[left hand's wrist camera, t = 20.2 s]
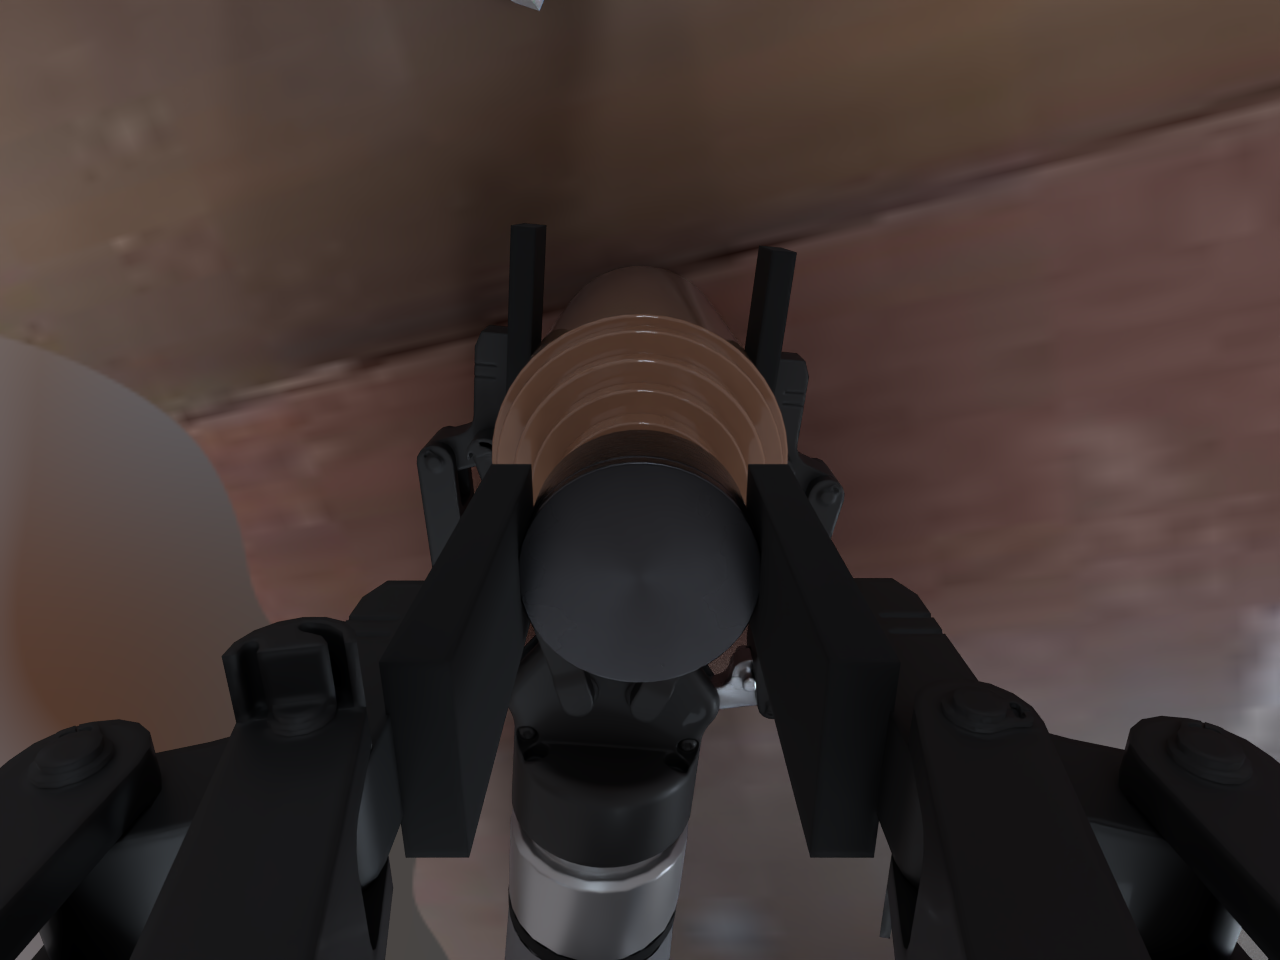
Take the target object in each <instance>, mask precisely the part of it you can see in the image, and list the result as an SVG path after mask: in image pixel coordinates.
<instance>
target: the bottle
mask: <svg viewBox="0 0 1280 960" xmlns="http://www.w3.org/2000/svg"><path fill="white" fill-rule="evenodd" d="M626 430H654V431H661V432H665V433H670V434H674V435H677V436H679V437H682V438H685V439H687V440H689V441H691V442H693V443H695V444H697V445H699V446H700V447H702V448H703V449H705V450H706V451H708V452H709V453H710V454H712V455H713V456H714V457H715V458H716V459H717V460H718V461H719V462H720V463H721V464H722V465H723V466H724V467H725V468H726V469H727V471H728V472H729V473H730V474H731V476H732V477H733V479H734V481H735V482H736V484H737V486H738V488H739V490H740V492H741V495H742V497H743V500H744V502H745V505H746V494H747V475H748V464H788V445H787V436H786V429H785V425H784V421H783V417H782V413H781V411H780V408H779V406H778V403H777V401H776V398H775V396H774V394H773V392H772V390H771V389H770V387H769V385H768V384H767V382H766V380H765V378H764V377H763V376H762V374H761V373H760V371H759V370H758V369H757V367H756V366H755V364H754V363H753V362H752V360H751V359H750V357H749V356H748V355H747V353H746V352H745V350H744V349H743V348H742V346H741V345H740V343H739V342H738V340H737V339H736V338H735V336H734V335H733V333H732V332H731V331H730V329H729V328H728V326H727V325H726V324H725V322H724V321H723V319H722V318H721V317H720V315H719V314H718V312H717V311H716V310H715V308H714V307H713V305H712V304H711V303H710V301H709V300H708V299H707V298H706V296H705V295H704V294H703V293H702V292H701V291H700V290H699V289H698V288H697V287H696V286H695V285H693V284H692V283H691V282H689V281H688V280H687V279H685V278H683V277H681V276H679V275H678V274H676V273H673V272H670V271H668V270H665V269H661V268H657V267H650V266H629V267H623V268H618V269H615V270H612V271H609V272H607V273H605V274H603V275H600V276H598V277H597V278H595V279H594V280H592V281H591V282H589V283H588V284H586V285H585V286H584V287H583V288H582V289H581V290H580V291H579V292H578V293H577V294H576V295H575V296H574V297H573V298H572V300H571V301H570V302H569V304H568V305H567V307H566V308H565V309H564V311H563V312H562V314H561V315H560V316H559V318H558V319H557V321H556V322H555V323H554V325H553V326H552V328H551V329H550V330H549V332H548V333H547V335H546V336H545V337H544V339H543V340H542V342H541V343H540V344H539V346H538V347H537V349H536V350H535V351H534V353H533V354H532V356H531V357H530V358H529V360H528V361H527V363H526V364H525V365H524V367H523V368H522V370H521V371H520V373H519V374H518V376H517V377H516V379H515V380H514V382H513V383H512V385H511V386H510V388H509V390H508V392H507V394H506V396H505V398H504V400H503V402H502V404H501V407H500V410H499V413H498V416H497V420H496V423H495V428H494V434H493V440H492V464H531V465H532V485H533V504H535V502H536V499H537V496H538V494H539V491H540V489H541V487H542V485H543V483H544V482H545V480H546V478H547V477H548V475H549V474H550V473H551V471H552V470H553V469H554V467H555V466H556V465H557V464H558V463H559V462H560V461H561V460H562V459H563V458H564V457H566V456H567V455H568V454H569V453H571V452H572V451H573V450H575V449H576V448H578V447H579V446H581V445H583V444H585V443H586V442H588V441H590V440H593V439H595V438H598V437H600V436H603V435H606V434H610V433H614V432H619V431H626Z"/></svg>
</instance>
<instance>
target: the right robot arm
mask: <svg viewBox="0 0 1280 960" xmlns="http://www.w3.org/2000/svg"><path fill="white" fill-rule="evenodd" d="M545 246H546V225H537V224H527V223H522V224H516V225H511V242H510V275H509V308H508V327H505V326H494V325H489V326H488V327H486V328H485V329H484V330H483V331H482V332H481V334H480V336H479V338H478V341H477V343H476V345H475V374H474V375H475V378H474V418H473V421H472V422H470V423H468V424H465V425H461V426H457V427H453V426H447V427H443V428H442V429H440V430H439V431H438V432H437V433H436V434H435V435H434V436H433V438H432V439H431V440H430V441H429V442H428V443H427V444H426V445H425V447H424V448H423V449H422V450H421V451H420V453H419V455H418V457H417V467H418V474H419V481H420V488H421V494H422V501H423V508H424V514H425V521H426V528H427V535H428V541H429V548H430V555H431V561H432V567H433V566H434V564H435V562H436V560H437V559H438V557H439V555H440V553H441V552H442V550H443V548H444V546H445V545H446V543H447V541H448V539H449V538H450V536H451V534H452V532H453V531H454V529H455V527H456V525H457V523H458V522H459V520H460V518H461V516H462V515H463V513H464V511H465V509H466V508H467V506H468V504H469V502H470V501H471V499H472V497H473V495H474V489H473V480H472V472H471V467H474V466H476V467H477V470H478V472H479V475H480V478H481V480H483V478H484V476H485V474H486V472H487V471H488V469H489V467H490V465H491V464H492V440H493V434H494V428H495V423H496V420H497V416H498V413H499V410H500V407H501V404H502V402H503V400H504V398H505V396H506V394H507V392H508V390H509V388H510V386H511V385H512V383H513V382H514V380H515V379H516V377H517V376H518V374H519V373H520V371H521V370H522V368H523V367H524V365H525V364H526V363H527V361H528V360H529V358H530V357H531V356H532V354H533V353H534V351H535V350H536V349H537V347H538V346H539V344H540V343H541V333H542V311H543V290H544V268H545ZM796 255H797V253H796V252H793V251H790V250H787V249H784V248H778V247H768V246H759V251H758V258H757V265H756V272H755V279H754V287H753V294H752V301H751V308H750V315H749V323H748V330H747V337H746V344H745V352H746V353H747V355H748V356H749V357H750V359H751V360H752V362H753V363H754V364H755V366H756V367H757V369H758V370H759V371H760V373H761V374H762V376H763V377H764V378H765V380H766V382H767V384H768V385H769V387H770V389H771V390H772V392H773V394H774V396H775V398H776V401H777V403H778V406H779V408H780V411H781V413H782V417H783V421H784V425H785V429H786V436H787V445H788V465H789V466H790V468H791V470H792V472H793V473H794V475H795V477H796V479H797V480H798V482H799V484H800V486H801V487H802V489H803V491H804V493H805V494H806V496H807V498H808V500H809V502H810V503H811V505H812V507H813V509H814V510H815V512H816V514H817V516H818V517H819V519H820V521H821V523H822V524H823V526H824V528H825V530H826V531H827V533H828V535H829V537H830V538H831V536H832V533H833V530H834V527H835V524H836V521H837V518H838V515H839V513H840V510H841V507H842V504H843V501H844V491H843V488H842V486H841V485H840V483H839V482H838V481H837V479H836V478H835V476H834V475H833V474H832V472H831V471H830V469H829V468H828V467H827V465H826V464H825V463H824V462H823V461H822V460H820V459H818V458H810V457H808V456H806V455H803V454H801V453H800V452H798V451H797V443H798V437H799V431H800V425H801V420H802V414H803V408H804V407H803V406H804V402H805V396H806V395H805V394H806V390H807V384H808V379H809V376H808V371H807V367H806V362H805V361H804V360H803V359H802V358H801V357H800V356H799V355H798V354H797V353H788V352H781V351H782V344H783V338H784V332H785V325H786V319H787V312H788V306H789V300H790V293H791V287H792V280H793V274H794V267H795V261H796ZM534 631H535V633H536V635H535V636H534V637H533V638H532V639H531V640H530V641H529V642H528V643H527V644H526V645H525V646H524V648H523V652H522V656H521V660H520V664H519V668H518V672H517V675H516V679H515V683H514V687H513V691H512V695H511V698H510V702H509V706H508V708H509V709H510V711H511V713H512V715H513V718H514V723H515V733H514V757H513V781H512V804H513V810H512V815H511V826H510V864H509V889H508V890H509V913H508V925H507V938H506V951H505V960H669V958H670V949H671V939H672V929H673V920H674V916H675V912H676V904H677V900H678V896H679V891H680V884H681V877H682V870H683V864H684V857H685V850H686V843H687V835H688V820H689V817H690V812H691V806H692V799H693V792H694V785H695V779H696V772H697V765H698V758H699V751H700V744H701V739H702V736H703V733H704V731H705V730H706V728H707V727H708V725H709V724H710V723H711V722H712V721H713V720H714V719H715V717H716V715H717V713H718V711H719V709H725V708H734V707H743V706H753V705H757V706H758V709H759V712H760V713H761V714H762V715H763V716H764V717H766V718H768V719H774V716H773V712H772V708H771V704H770V700H769V696H768V693H767V689H766V685H765V681H764V677H763V673H762V670H761V666H760V662H759V658H758V654H757V650H756V646H755V643H754V639H753V635H752V631H751V627H750V623H749V624H748V631H747V646H746V645H741V646H739V647H737V648H736V651H735V652H734V653H733V654H732V656H731V658H730V663H729V666H728V668H727V669H726V670H725V671H724V672H722V673H720V674H716V675H714V674H713V672H712V670H711V669H710V667H709V666H708V664H707V665H705V666H703V667H701V668H699V669H697V670H695V671H693V672H691V673H688V674H685V675H683V676H680V677H676V678H672V679H668V680H663V681H655V682H625V681H617V680H612V679H607V678H603V677H600V676H597V675H594V674H591V673H589V672H587V671H584V670H582V669H580V668H578V667H576V666H574V665H573V664H571V663H570V662H568V661H566V660H565V659H563V658H562V657H561V656H560V655H558V654H557V653H556V652H555V651H553V650H552V649H551V648H550V647H549V646H548V645H547V644H546V643H545V642H544V641H543V640H542V638H541V637H540V636H539V634H538V633H537V632H536V630H535V629H534Z"/></svg>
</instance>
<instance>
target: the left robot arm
mask: <svg viewBox="0 0 1280 960" xmlns="http://www.w3.org/2000/svg"><path fill="white" fill-rule="evenodd" d="M533 507H534V504H533V485H532V465H531V464H491V465H490V467H489V469H488V471H487V472H486V474H485V476H484V478H483V480H482V481H481V483H480V485H479V487H478V488H477V490H476V492H475V494H474V495H473V497H472V499H471V501H470V502H469V504H468V506H467V508H466V509H465V511H464V513H463V515H462V516H461V518H460V520H459V522H458V523H457V525H456V527H455V529H454V531H453V532H452V534H451V536H450V538H449V539H448V541H447V543H446V545H445V546H444V548H443V550H442V552H441V553H440V555H439V557H438V559H437V560H436V562H435V564H434V566H433V567H432V569H431V571H430V573H429V574H428V576H427V578H426V580H425V581H386V582H385V583H383V584H382V585H380V586H379V587H377V588H376V589H374V590H373V591H371V592H370V593H368V594H367V595H365V596H364V597H362V599H361V600H360V602H359V603H358V604H357V606H356V607H355V609H354V610H353V612H352V613H351V614H350V616H349V620H346V622H344V621H340V620H336V619H332V618H328V617H302V618H296V619H291V620H286V621H280V622H276V623H274V624H271V625H268V626H265V627H263V628H260V629H257V630H254V631H253V632H251V633H249V634H248V635H246V636H244V637H243V638H241V639H239V640H238V641H236V642H234V643H233V644H232V645H231V647H230V648H229V649H228V650H227V651H226V652H225V653H224V654H223V655H222V660H223V664H224V669H225V673H226V678H227V682H228V687H229V691H230V696H231V701H232V705H233V710H234V714H235V719H236V725H235V727H234V729H233V731H232V734H231V736H230V737H227V738H223V739H220V740H216V741H212V742H208V743H203V744H198V745H193V746H188V747H184V748H179V749H174V750H169V751H164V752H159V753H155V750H154V746H153V742H152V738H151V735H150V732H149V731H148V730H147V729H145V728H144V727H143V726H142V725H141V724H139V723H136V722H131V721H125V720H119V719H118V720H107V721H97V722H89V723H85V724H80V725H79V726H73V727H70V728H67V729H64V730H61V731H59V732H57V733H56V734H54V735H51V736H49V737H47V738H45V739H43V740H41V741H38V742H36V743H34V744H32V745H31V746H30V747H28V748H27V749H25V750H24V751H22V752H21V753H19V754H18V755H16V756H15V757H13V758H12V759H10V760H9V761H8V762H7V763H5V764H4V765H3V766H2V767H1V768H0V960H15V959H16V958H17V956H18V955H19V954H20V953H21V952H22V951H23V950H24V948H25V947H26V946H27V945H28V944H29V943H30V941H31V940H32V939H33V938H34V937H35V936H36V934H37V933H38V932H39V933H40V935H41V938H42V941H43V943H44V945H43V947H42V948H41V949H40V950H39V951H38V953H37V954H36V955H35V956H34V957H33V959H32V960H385V955H386V946H387V937H388V928H389V920H390V911H391V902H392V893H393V883H392V876H391V869H390V863H389V856H388V855H389V852H390V850H391V847H392V845H393V842H394V839H395V837H396V834H397V832H398V829H399V826H400V824H401V827H402V834H403V841H404V849H405V856H406V858H409V857H411V858H429V857H469V856H470V852H471V848H472V844H473V840H474V837H475V833H476V829H477V825H478V821H479V817H480V814H481V810H482V806H483V802H484V798H485V794H486V791H487V787H488V783H489V779H490V775H491V771H492V768H493V764H494V760H495V756H496V752H497V748H498V744H499V741H500V737H501V733H502V729H503V725H504V721H505V718H506V714H507V710H508V706H509V702H510V698H511V695H512V691H513V687H514V683H515V679H516V675H517V672H518V668H519V664H520V660H521V656H522V652H523V648H524V645H525V641H526V637H527V633H528V629H529V625H530V620H529V619H528V617H527V615H526V613H525V610H524V607H523V605H522V602H521V594H520V578H519V561H518V554H519V549H520V545H521V541H522V539H523V536H524V533H525V530H526V527H527V524H528V521H529V519H530V516H531V513H532V510H533ZM746 508H747V511H748V514H749V517H750V520H751V522H752V525H753V528H754V531H755V534H756V537H757V539H758V543H759V547H760V551H761V570H760V587H759V600H758V603H757V606H756V609H755V612H754V614H753V616H752V618H751V620H750V622H749V623H750V627H751V631H752V635H753V639H754V643H755V646H756V650H757V654H758V658H759V662H760V666H761V670H762V673H763V677H764V681H765V685H766V689H767V693H768V696H769V700H770V704H771V708H772V712H773V716H774V719H775V723H776V727H777V731H778V735H779V739H780V742H781V746H782V750H783V754H784V758H785V762H786V766H787V769H788V773H789V777H790V781H791V785H792V789H793V792H794V796H795V800H796V804H797V808H798V812H799V815H800V819H801V823H802V827H803V831H804V835H805V839H806V842H807V846H808V850H809V854H810V858H874V852H875V845H876V838H877V831H878V824H879V821H880V824H881V827H882V829H883V832H884V834H885V837H886V839H887V842H888V845H889V847H890V850H891V852H892V856H891V863H890V869H889V876H888V883H887V890H886V896H885V903H884V910H883V917H882V923H881V930H880V937H884V938H889V939H890V934H891V928H892V936H893V944H894V953H895V960H1252V959H1251V958H1250V957H1249V956H1248V955H1247V953H1246V952H1245V951H1244V950H1243V949H1242V948H1241V946H1240V945H1239V944H1238V943H1237V939H1238V936H1239V934H1240V931H1241V928H1243V930H1244V931H1245V932H1246V933H1247V934H1248V935H1249V936H1250V938H1251V939H1252V940H1253V941H1254V942H1255V943H1256V945H1257V946H1258V947H1259V948H1260V949H1261V950H1262V951H1263V953H1264V954H1265V955H1266V956H1267V957H1268V958H1269V959H1268V960H1280V763H1278V762H1277V761H1276V760H1275V759H1274V758H1272V757H1271V756H1270V755H1268V754H1267V753H1265V752H1264V751H1262V750H1261V749H1259V748H1258V747H1256V746H1255V745H1253V744H1252V743H1250V742H1249V741H1247V740H1246V739H1244V738H1241V737H1239V736H1237V735H1235V734H1232V733H1230V732H1228V731H1226V730H1224V729H1223V728H1221V727H1219V726H1216V725H1213V724H1209V723H1206V722H1205V723H1202V722H1201V721H1199V720H1194V719H1189V718H1178V717H1168V716H1158V717H1152V718H1147V719H1141V720H1140V721H1139V722H1138V723H1137V724H1135V725H1134V726H1133V727H1132V728H1131V729H1130V732H1129V736H1128V740H1127V744H1126V747H1125V750H1123V749H1118V748H1113V747H1108V746H1103V745H1098V744H1093V743H1088V742H1083V741H1078V740H1073V739H1069V738H1065V737H1061V736H1058V735H1054V734H1050V733H1049V732H1048V730H1047V728H1046V726H1045V723H1044V722H1043V720H1042V719H1041V718H1040V716H1039V715H1038V714H1037V712H1036V711H1035V710H1034V708H1033V707H1032V706H1030V705H1029V704H1028V703H1026V702H1025V701H1023V700H1022V699H1020V698H1019V697H1018V696H1016V695H1015V694H1013V693H1011V692H1009V691H1006V690H1004V689H1001V688H999V687H997V686H994V685H992V684H989V683H984V682H980V681H978V680H977V678H976V677H975V676H974V674H973V673H972V671H971V670H970V668H969V667H968V666H967V664H966V663H965V661H964V660H963V659H962V657H961V656H960V654H959V653H958V652H957V650H956V649H955V647H954V646H953V644H952V643H951V642H950V640H949V639H948V637H947V636H946V635H945V634H942V629H941V628H940V626H939V625H938V623H937V622H936V620H935V619H934V618H931V613H930V612H929V611H928V609H927V608H926V606H925V605H924V604H923V602H922V601H921V599H920V598H919V596H918V595H917V594H915V593H914V592H912V591H911V590H909V589H908V588H906V587H905V586H903V585H902V584H900V583H899V582H897V581H896V580H894V579H892V578H853V577H852V575H851V574H850V572H849V570H848V568H847V567H846V565H845V563H844V561H843V560H842V558H841V556H840V554H839V553H838V551H837V549H836V547H835V546H834V544H833V542H832V540H831V538H830V537H829V535H828V533H827V531H826V530H825V528H824V526H823V524H822V523H821V521H820V519H819V517H818V516H817V514H816V512H815V510H814V509H813V507H812V505H811V503H810V502H809V500H808V498H807V496H806V494H805V493H804V491H803V489H802V487H801V486H800V484H799V482H798V480H797V479H796V477H795V475H794V473H793V472H792V470H791V468H790V466H789V465H788V464H748V475H747V494H746Z"/></svg>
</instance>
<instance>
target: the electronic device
mask: <svg viewBox="0 0 1280 960" xmlns="http://www.w3.org/2000/svg"><path fill="white" fill-rule="evenodd" d="M511 1H513V2H514V3H517V4H520V5H523V6H526V7H529V8H532V9H535V10H538V11H540V9H541V7H542V4H543V2H544V0H511Z"/></svg>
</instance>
